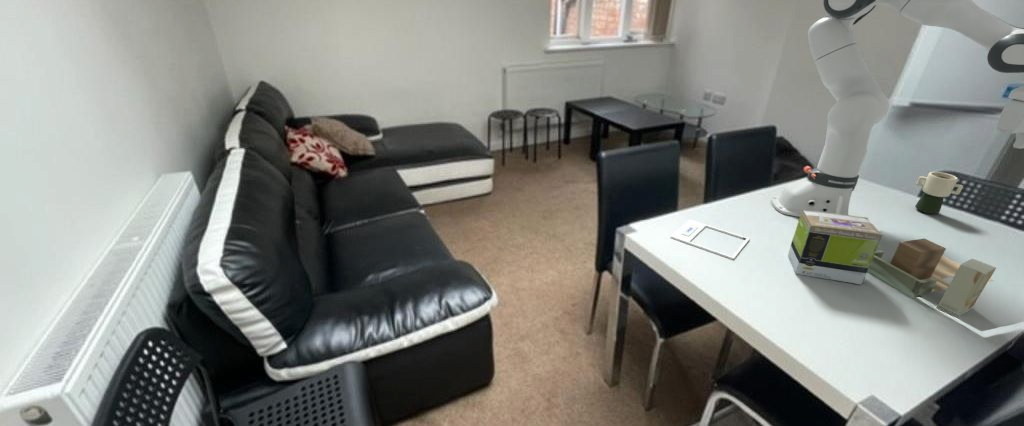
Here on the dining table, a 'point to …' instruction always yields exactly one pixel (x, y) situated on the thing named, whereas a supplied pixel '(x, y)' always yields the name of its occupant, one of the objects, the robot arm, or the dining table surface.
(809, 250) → the tea box
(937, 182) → the cream and green cup
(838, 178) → the robot arm
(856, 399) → the dining table surface
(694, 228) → the photo frame
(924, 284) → the wooden slotted tray
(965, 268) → the skincare box
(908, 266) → the walnut block
